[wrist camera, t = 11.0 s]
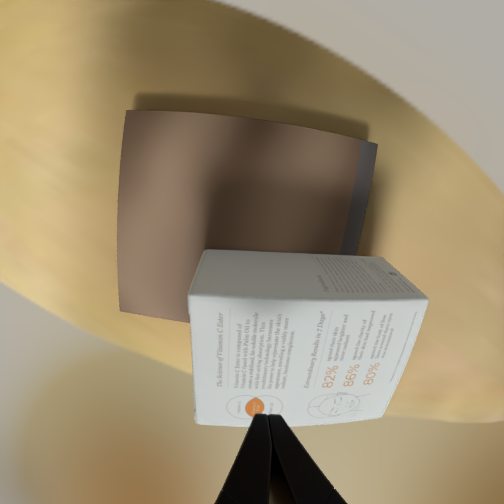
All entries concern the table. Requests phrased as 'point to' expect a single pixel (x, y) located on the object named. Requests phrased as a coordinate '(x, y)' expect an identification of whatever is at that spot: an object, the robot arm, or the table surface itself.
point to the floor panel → (228, 198)
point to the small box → (298, 336)
